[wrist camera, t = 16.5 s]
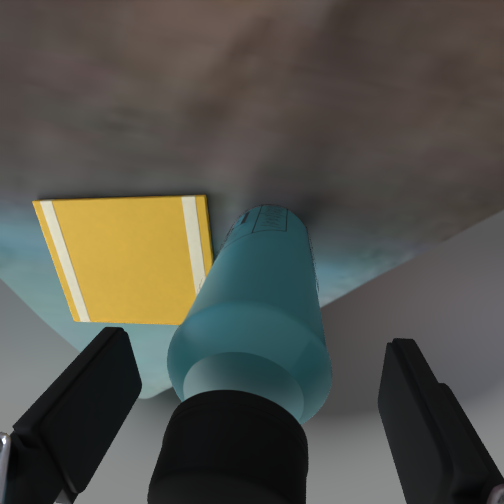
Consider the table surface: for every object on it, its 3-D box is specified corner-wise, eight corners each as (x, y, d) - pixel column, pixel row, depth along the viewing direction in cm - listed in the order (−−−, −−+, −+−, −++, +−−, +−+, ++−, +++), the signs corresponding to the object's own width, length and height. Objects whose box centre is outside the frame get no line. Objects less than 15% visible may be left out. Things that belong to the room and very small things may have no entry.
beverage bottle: (252, 184, 23) (113, 379, 5) (325, 220, 24) (439, 521, 5) (222, 250, 26) (59, 536, 8) (288, 281, 26) (281, 623, 8)
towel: (206, 194, 24) (204, 196, 24) (221, 322, 29) (219, 326, 29) (37, 199, 26) (31, 201, 26) (77, 318, 31) (73, 321, 31)
